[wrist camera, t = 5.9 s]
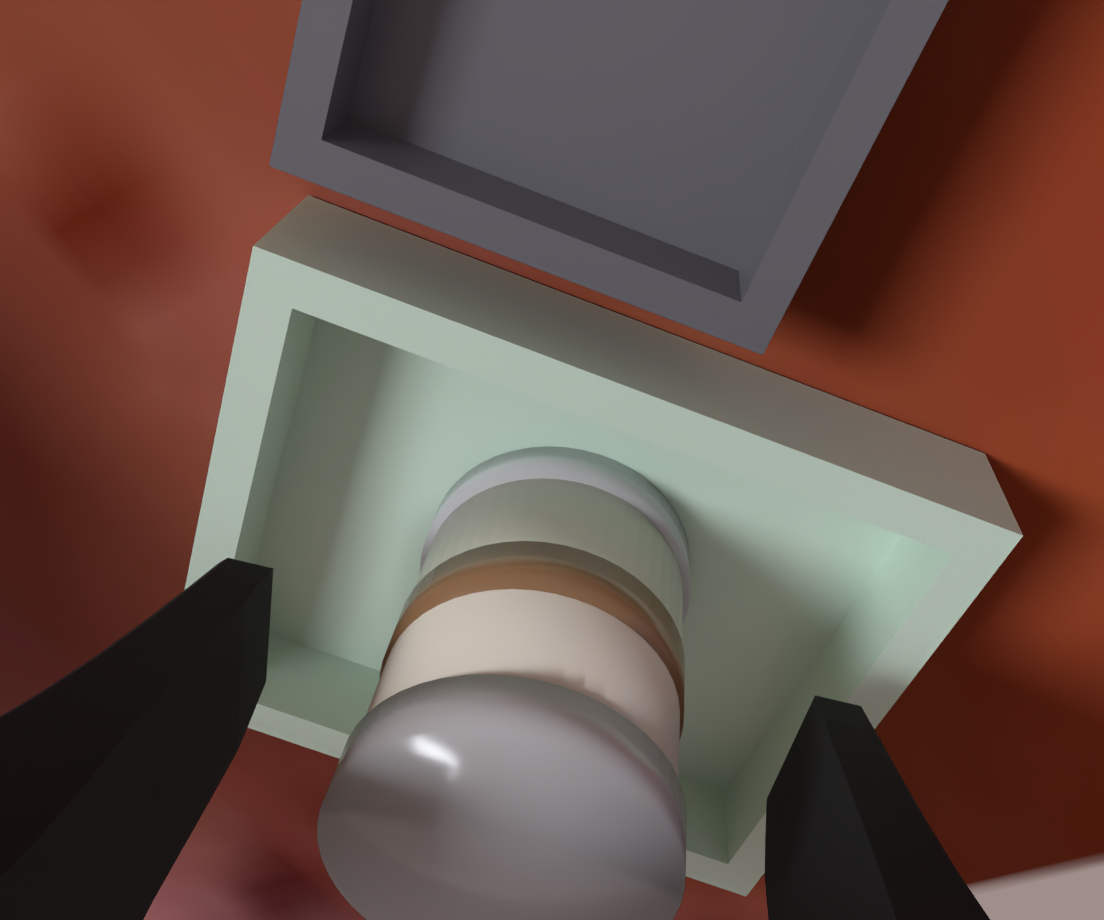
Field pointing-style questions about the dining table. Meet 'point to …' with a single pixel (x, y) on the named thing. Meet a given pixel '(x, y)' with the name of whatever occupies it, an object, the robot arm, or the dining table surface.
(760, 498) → the parts tray
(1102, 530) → the dining table surface
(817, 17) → the grey square holder
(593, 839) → the fuse
